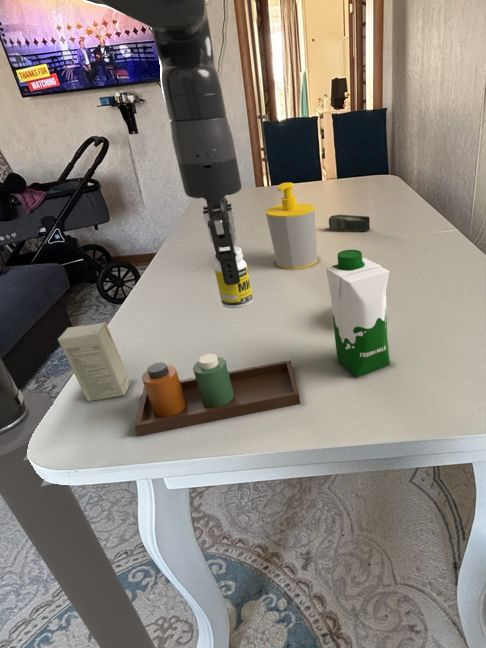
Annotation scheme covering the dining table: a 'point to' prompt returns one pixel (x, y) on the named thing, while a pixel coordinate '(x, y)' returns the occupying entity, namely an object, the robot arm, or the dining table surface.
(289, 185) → the soap bottle
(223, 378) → the green bottle
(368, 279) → the milk carton
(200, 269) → the dining table surface
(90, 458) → the dining table surface
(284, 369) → the tray
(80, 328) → the cosmetic box
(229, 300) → the supplement bottle
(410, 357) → the dining table surface
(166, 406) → the amber bottle
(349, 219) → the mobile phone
